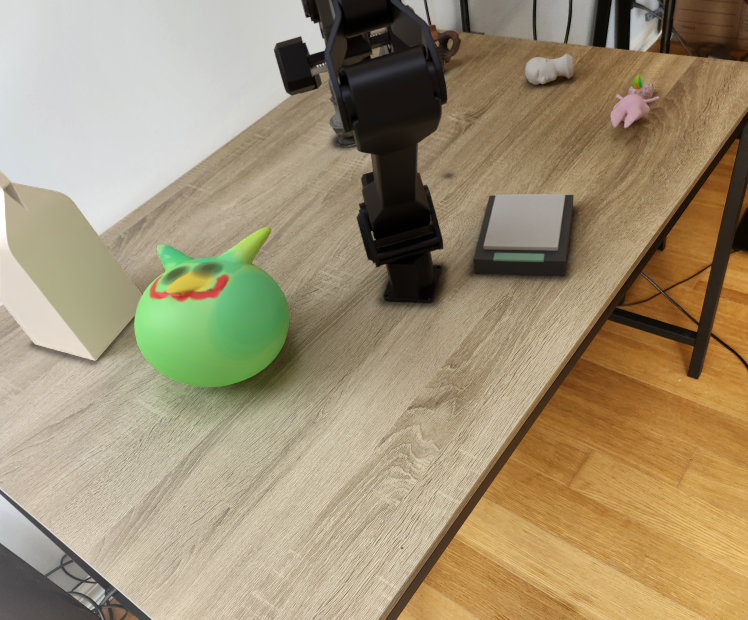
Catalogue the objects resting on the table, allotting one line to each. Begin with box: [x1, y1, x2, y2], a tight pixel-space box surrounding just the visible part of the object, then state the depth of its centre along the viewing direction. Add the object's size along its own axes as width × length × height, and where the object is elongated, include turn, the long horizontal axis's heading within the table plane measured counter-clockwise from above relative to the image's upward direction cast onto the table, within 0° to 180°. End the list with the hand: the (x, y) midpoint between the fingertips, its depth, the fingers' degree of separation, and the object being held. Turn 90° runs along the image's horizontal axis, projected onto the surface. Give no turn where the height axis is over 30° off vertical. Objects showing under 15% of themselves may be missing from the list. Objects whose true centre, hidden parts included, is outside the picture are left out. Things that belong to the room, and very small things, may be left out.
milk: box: [0, 170, 143, 362], centre depth 82 cm, size 12×12×26 cm
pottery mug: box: [428, 24, 462, 73], centre depth 118 cm, size 12×10×8 cm
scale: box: [473, 193, 575, 277], centre depth 83 cm, size 13×11×3 cm
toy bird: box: [133, 226, 290, 388], centre depth 76 cm, size 18×17×15 cm
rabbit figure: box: [610, 73, 660, 129], centre depth 95 cm, size 6×6×15 cm
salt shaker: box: [327, 76, 356, 148], centre depth 105 cm, size 6×6×12 cm
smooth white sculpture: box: [524, 53, 574, 86], centre depth 107 cm, size 4×8×5 cm
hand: (350, 70), depth 93 cm, fingers open, 9 cm apart
